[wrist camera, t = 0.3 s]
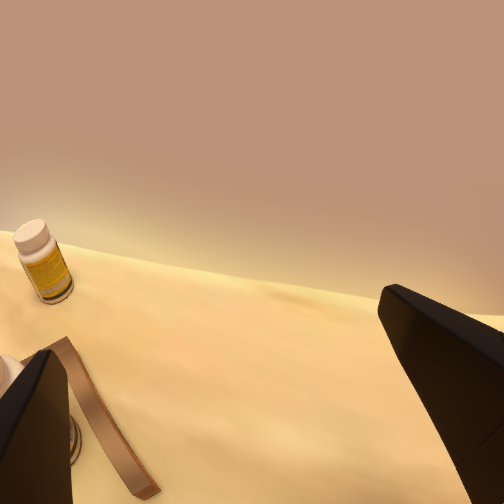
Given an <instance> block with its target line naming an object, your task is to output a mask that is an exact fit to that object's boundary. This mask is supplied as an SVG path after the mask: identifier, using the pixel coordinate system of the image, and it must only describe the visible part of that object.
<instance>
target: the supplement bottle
mask: <svg viewBox="0 0 504 504" xmlns="http://www.w3.org/2000/svg"><path fill="white" fill-rule="evenodd" d="M13 239H14V242H15V244H16V247H17V249H18V250H19V253H18V257H19V260H20V262H21V264H22V266H23V268H24V270H25V272H26V274H27V276H28V278H29V280H30V282H31V284H32V285H33V287H34V289H35V291H36V293H37V294H38V296H39V298H40V299H41V300H42V301H43V302H45V303H49V304H52V303H57V302H59V301H61V300H63V299H64V298H66V297H67V296H68V295H69V293H70V292H71V290H72V288H73V279H72V277H71V274H70V272H69V270H68V268H67V266H66V263H65V261H64V259H63V256H62V254H61V252H60V249H59V247H58V245H57V242H56V240H55V238H54V237H53V236H52V235H50V234H49V230H48V228H47V226H46V223H45V221H44V220H41V219H35V220H32V221H29V222H27V223H25V224H24V225H22V226H21V227H20V228H19V229H18V230H17V231H16V232H15V233H14V236H13Z"/></svg>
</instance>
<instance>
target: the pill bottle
mask: <svg viewBox="0 0 504 504" xmlns="http://www.w3.org/2000/svg"><path fill="white" fill-rule="evenodd" d="M23 369H24V366H23V365H22V364H21V363H20V362H19V361H18V360H16V359H15V358H13V357H11V356H8V355H4V354H0V398H1V397H2V396H3V394H4V393H5V392H6V390H7V389H8V388H9V386H10V385H11V384H12V382H13V381H14V380H15V379H16V377H17V376H18V375H19V374H20V372H21V371H22V370H23ZM80 441H81V440H80V432H79V428H78V426H77V423H76V422H75V420H74V418H73V417H72V416H71V415H70V456H71V464H72V462H73V461H74V460H75V458H76V457H77V455H78V452H79V449H80Z"/></svg>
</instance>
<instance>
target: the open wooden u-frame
mask: <svg viewBox="0 0 504 504" xmlns="http://www.w3.org/2000/svg"><path fill="white" fill-rule="evenodd" d="M44 349H52V350H53V351H54V352H55V353H56V355H57V356H58V358H59V359H60V361H61V363H62V364H63V366H64V367H65V369H66V372H67V376H68V381H69V383H70V385H71V388H72V390H73V392H74V394H75V396H76V398H77V400H78V402H79V405H80V407H81V409H82V411H83V413H84V415H85V417H86V419H87V420H88V422H89V424H90V426H91V428H92V430H93V432H94V434H95V435H96V437H97V439H98V441H99V443H100V444H101V446H102V448H103V450H104V451H105V453H106V455H107V456H108V458H109V460H110V461H111V463H112V464H113V466H114V468H115V469H116V471H117V472H118V474H119V476H120V477H121V479H122V480H123V482H124V483H125V485H126V486H127V488H128V489H129V490H130V492H131V493H132V495H134V496H136V497H138V498H140V499H143V500H146V499H148V498H149V497H151V496H153V495H155V494H156V493H158V492H160V491H161V489H160V488H159V487H158V485H157V484H156V483H155V481H154V480H153V479H152V477H151V476H150V475H149V473H148V472H147V471H146V469H145V468H144V466H143V465H142V463H141V462H140V461H139V459H138V458H137V456H136V455H135V453H134V452H133V450H132V449H131V447H130V446H129V444H128V443H127V441H126V440H125V438H124V436H123V435H122V433H121V432H120V430H119V428H118V427H117V425H116V424H115V422H114V420H113V419H112V417H111V415H110V413H109V412H108V410H107V408H106V406H105V405H104V403H103V401H102V399H101V398H100V396H99V394H98V392H97V390H96V388H95V386H94V385H93V383H92V381H91V379H90V377H89V375H88V373H87V371H86V369H85V367H84V365H83V363H82V361H81V359H80V356H79V354H78V352H77V351H76V349H75V348H74V346H73V345H72V343H71V342H70V340H69V339H68V337H67V336H66V337H64V338H62V339H60V340H59V341H57V342H55V343H53V344H51V345H50V346H48V347H46V348H44ZM44 349H42V350H44ZM35 354H36V353H35ZM35 354H33V355H32V356H30V357H28V358H26V359H24V360H23V361H21V362H20V363H21V364H22V365H23V366H24V367H25V366H26V365H27V364H28V362H29V361H30V360H31V359H32V357H33V356H34V355H35Z"/></svg>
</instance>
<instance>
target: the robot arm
mask: <svg viewBox="0 0 504 504" xmlns="http://www.w3.org/2000/svg"><path fill="white" fill-rule="evenodd" d="M378 316H379V318H380V321H381V323H382V325H383V327H384V329H385V331H386V334H387V336H388V338H389V340H390V342H391V345H392V347H393V349H394V351H395V354H396V356H397V358H398V360H399V361H400V363H401V365H402V367H403V369H404V370H405V372H406V374H407V376H408V378H409V379H410V381H411V383H412V385H413V386H414V388H415V390H416V392H417V394H418V396H419V397H420V399H421V401H422V403H423V405H424V407H425V408H426V410H427V412H428V414H429V416H430V418H431V420H432V422H433V424H434V426H435V427H436V429H437V431H438V433H439V435H440V437H441V439H442V441H443V443H444V445H445V447H446V449H447V451H448V453H449V455H450V457H451V459H452V461H453V463H454V465H455V467H456V470H457V472H458V474H459V476H460V479H461V481H462V483H463V485H464V487H465V489H466V492H467V494H468V496H469V498H470V500H471V503H472V504H503V503H504V333H503V332H501V331H498V330H497V329H494V328H492V327H490V326H488V325H486V324H484V323H482V322H480V321H477V320H475V319H473V318H471V317H469V316H467V315H465V314H462V313H460V312H458V311H456V310H454V309H451V308H449V307H447V306H445V305H443V304H441V303H438V302H436V301H434V300H432V299H429V298H428V297H425V296H423V295H421V294H419V293H416V292H414V291H412V290H410V289H407V288H405V287H403V286H401V285H398V284H393V285H389V286H386V287H384V288H383V290H382V293H381V297H380V301H379V305H378ZM0 504H73V498H72V483H71V456H70V414H69V399H68V376H67V372H66V369H65V367H64V366H63V364H62V363H61V361H60V359H59V358H58V356H57V355H56V353H55V352H54V351H53V350H52V349H44V350H39V351H38V352H37V353H36V354H35V355H34V356H33V357H32V359H31V360H30V361H29V362H28V364H27V365H26V366H25V367H24V369H23V370H22V371H21V372H20V374H19V375H18V376H17V377H16V379H15V380H14V381H13V382H12V384H11V385H10V386H9V388H8V389H7V390H6V392H5V393H4V394H3V396H2V397H1V398H0Z"/></svg>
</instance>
